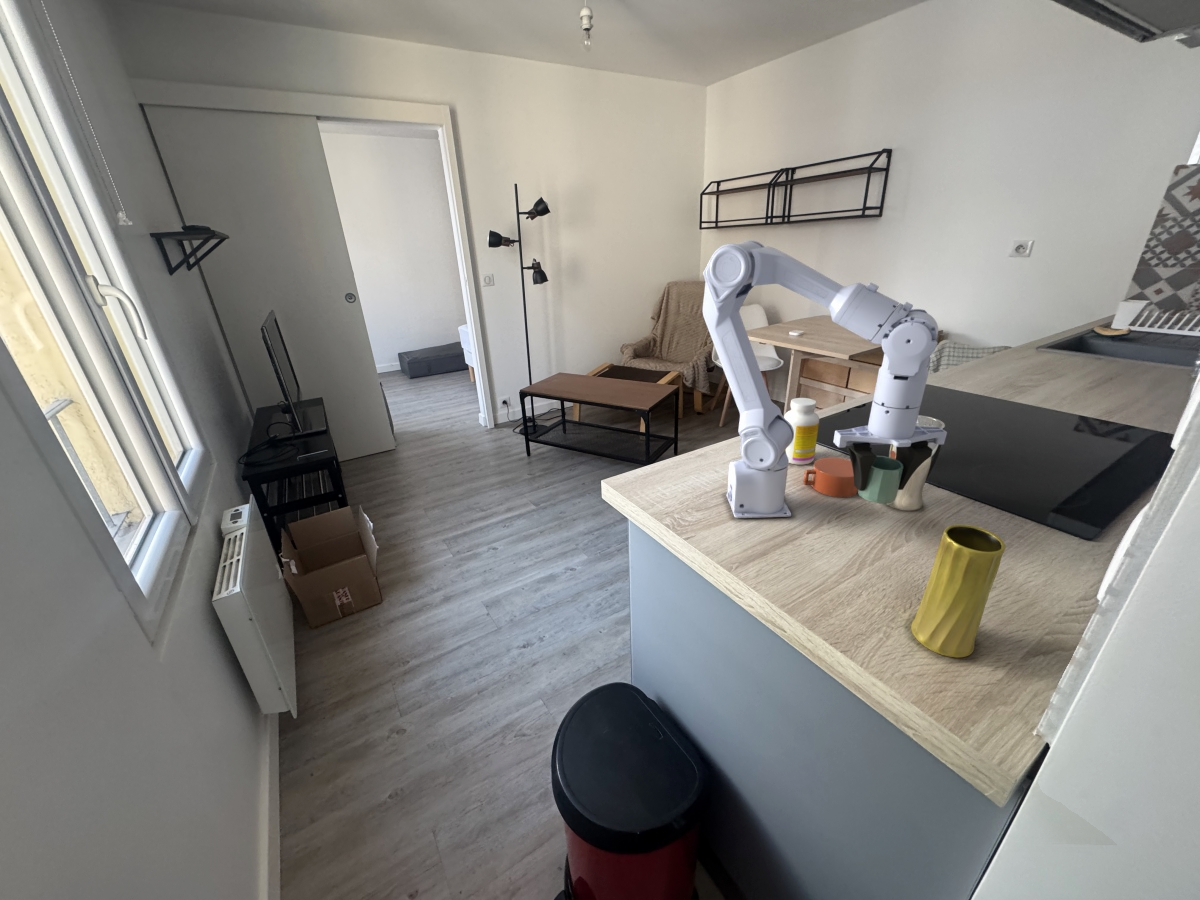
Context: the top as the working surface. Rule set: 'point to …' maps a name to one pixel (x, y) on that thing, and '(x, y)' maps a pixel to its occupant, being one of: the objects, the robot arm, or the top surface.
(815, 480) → the mug
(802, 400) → the supplement bottle
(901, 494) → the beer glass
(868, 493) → the green faceted cup
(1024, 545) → the top surface
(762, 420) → the robot arm
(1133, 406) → the top surface
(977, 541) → the vase
